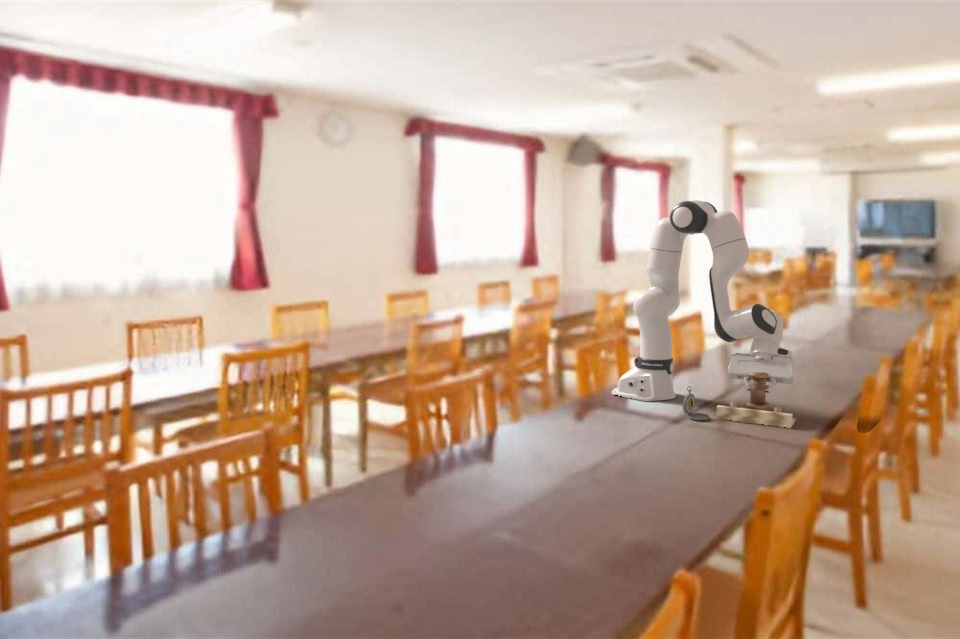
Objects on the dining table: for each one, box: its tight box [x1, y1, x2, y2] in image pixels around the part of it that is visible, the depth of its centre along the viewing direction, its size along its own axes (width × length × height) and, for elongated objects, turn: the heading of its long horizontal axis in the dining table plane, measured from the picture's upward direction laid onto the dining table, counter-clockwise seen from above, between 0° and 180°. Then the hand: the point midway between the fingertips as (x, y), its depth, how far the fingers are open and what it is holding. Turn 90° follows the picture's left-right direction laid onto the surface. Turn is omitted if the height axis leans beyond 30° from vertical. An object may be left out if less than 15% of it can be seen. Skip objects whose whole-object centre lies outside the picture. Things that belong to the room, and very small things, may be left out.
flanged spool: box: [745, 372, 771, 411], centre depth 222 cm, size 7×7×11 cm
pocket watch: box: [682, 385, 711, 422], centre depth 225 cm, size 8×8×10 cm
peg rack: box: [715, 401, 797, 429], centre depth 222 cm, size 22×10×5 cm, turn 59°
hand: (757, 390), depth 222 cm, fingers closed on flanged spool, 4 cm apart
